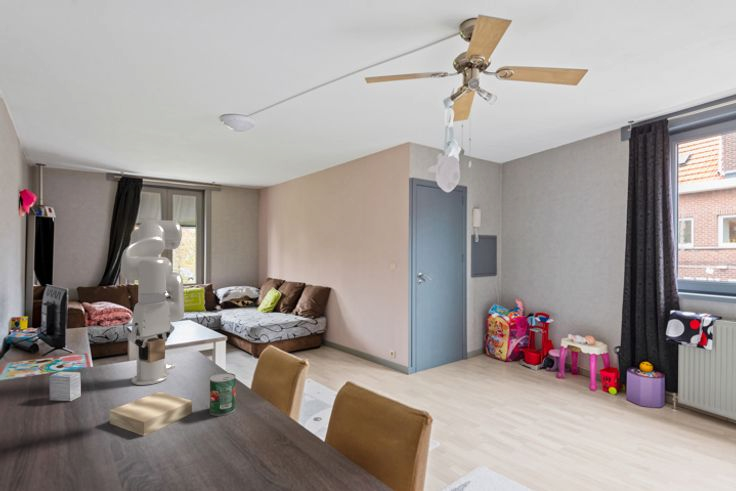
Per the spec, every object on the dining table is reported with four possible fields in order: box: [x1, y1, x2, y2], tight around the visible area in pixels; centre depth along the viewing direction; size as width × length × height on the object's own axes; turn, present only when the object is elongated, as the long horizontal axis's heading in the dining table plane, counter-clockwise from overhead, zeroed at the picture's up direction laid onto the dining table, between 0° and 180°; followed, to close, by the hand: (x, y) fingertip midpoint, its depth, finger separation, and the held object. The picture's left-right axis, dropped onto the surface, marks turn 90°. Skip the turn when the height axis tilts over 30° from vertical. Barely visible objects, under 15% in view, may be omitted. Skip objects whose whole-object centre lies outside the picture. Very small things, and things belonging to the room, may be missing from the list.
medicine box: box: [48, 371, 82, 402], centre depth 133 cm, size 8×4×9 cm, turn 84°
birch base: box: [109, 391, 193, 437], centre depth 119 cm, size 16×16×4 cm
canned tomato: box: [209, 372, 237, 417], centre depth 125 cm, size 8×8×11 cm
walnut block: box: [139, 338, 166, 363], centre depth 119 cm, size 5×5×6 cm
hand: (152, 356), depth 119 cm, fingers closed on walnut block, 4 cm apart
